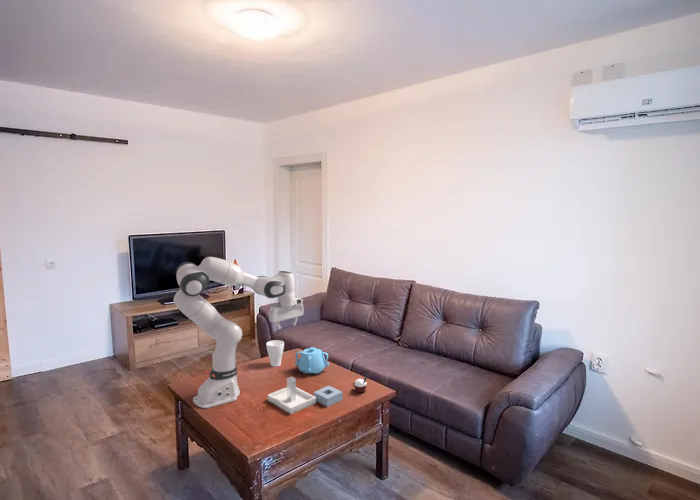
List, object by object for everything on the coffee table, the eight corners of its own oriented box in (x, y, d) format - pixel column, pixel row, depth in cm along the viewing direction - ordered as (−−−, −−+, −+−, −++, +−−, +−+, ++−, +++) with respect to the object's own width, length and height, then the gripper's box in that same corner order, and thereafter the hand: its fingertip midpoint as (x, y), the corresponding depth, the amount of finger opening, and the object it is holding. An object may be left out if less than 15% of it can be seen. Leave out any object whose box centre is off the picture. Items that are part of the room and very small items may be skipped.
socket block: (327, 406, 192) (327, 398, 191) (313, 399, 199) (313, 392, 198) (342, 399, 199) (342, 391, 198) (329, 393, 206) (328, 385, 205)
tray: (290, 414, 185) (290, 408, 185) (267, 400, 198) (267, 394, 198) (316, 403, 195) (316, 397, 195) (292, 390, 209) (292, 385, 208)
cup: (276, 369, 235) (275, 347, 234) (263, 365, 241) (262, 343, 240) (288, 363, 244) (287, 342, 243) (275, 360, 250) (274, 339, 248)
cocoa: (351, 390, 210) (350, 367, 209) (361, 386, 213) (360, 364, 212) (361, 396, 202) (360, 373, 201) (371, 392, 205) (370, 370, 204)
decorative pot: (318, 363, 245) (317, 341, 244) (331, 372, 232) (331, 349, 230) (293, 369, 237) (292, 346, 235) (305, 378, 223) (305, 354, 222)
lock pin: (290, 402, 195) (290, 380, 193) (287, 399, 197) (286, 378, 196) (295, 399, 197) (295, 378, 195) (292, 397, 199) (291, 376, 198)
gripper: (273, 306, 203) (273, 332, 204) (305, 299, 217) (305, 324, 219) (266, 303, 207) (266, 330, 209) (297, 297, 222) (298, 322, 223)
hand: (286, 327), depth 214 cm, fingers open, 8 cm apart
